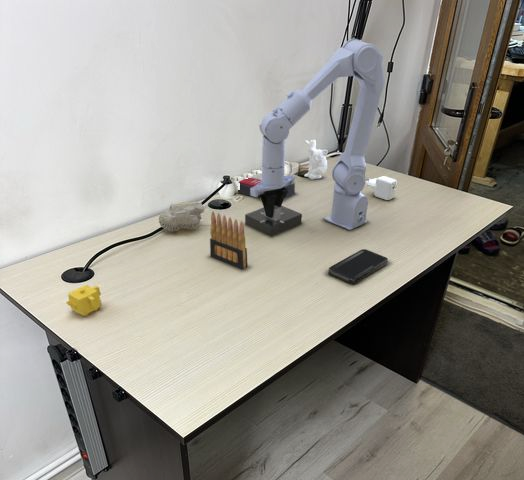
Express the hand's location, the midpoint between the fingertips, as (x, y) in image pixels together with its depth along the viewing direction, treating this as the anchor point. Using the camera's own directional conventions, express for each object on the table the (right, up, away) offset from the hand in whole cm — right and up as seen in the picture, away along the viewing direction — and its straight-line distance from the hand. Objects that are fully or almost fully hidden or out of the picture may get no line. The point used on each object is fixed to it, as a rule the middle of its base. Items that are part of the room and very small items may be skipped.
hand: (272, 215), depth 136 cm
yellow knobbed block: (-40, -29, -30) cm, 58 cm away
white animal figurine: (+15, +22, +34) cm, 43 cm away
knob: (0, -1, 0) cm, 1 cm away
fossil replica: (-25, -3, +2) cm, 25 cm away
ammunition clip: (-11, -15, -13) cm, 23 cm away
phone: (+21, -17, -15) cm, 31 cm away
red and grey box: (-2, +13, +22) cm, 26 cm away
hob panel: (0, -1, +4) cm, 4 cm away
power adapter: (+34, +12, +22) cm, 42 cm away
